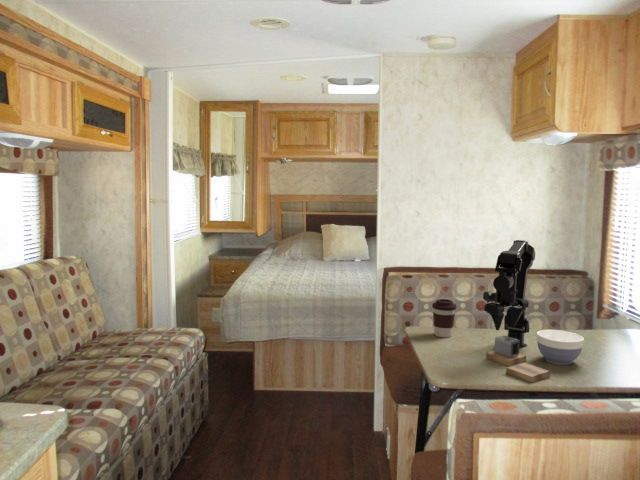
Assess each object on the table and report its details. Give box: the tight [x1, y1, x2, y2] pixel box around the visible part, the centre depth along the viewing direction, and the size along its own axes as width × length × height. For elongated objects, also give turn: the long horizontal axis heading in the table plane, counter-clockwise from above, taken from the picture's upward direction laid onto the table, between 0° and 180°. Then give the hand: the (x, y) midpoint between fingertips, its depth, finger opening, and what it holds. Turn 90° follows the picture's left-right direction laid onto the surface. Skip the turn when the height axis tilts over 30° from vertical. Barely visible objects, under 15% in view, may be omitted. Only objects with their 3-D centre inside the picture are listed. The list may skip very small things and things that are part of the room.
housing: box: [493, 334, 520, 358], centre depth 205 cm, size 5×7×6 cm
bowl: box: [536, 329, 585, 366], centre depth 205 cm, size 16×16×10 cm
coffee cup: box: [431, 298, 458, 338], centre depth 234 cm, size 10×10×15 cm
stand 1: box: [485, 350, 527, 367], centre depth 205 cm, size 10×10×2 cm
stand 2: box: [505, 362, 550, 384], centre depth 190 cm, size 10×10×2 cm
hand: (505, 328), depth 204 cm, fingers open, 9 cm apart
